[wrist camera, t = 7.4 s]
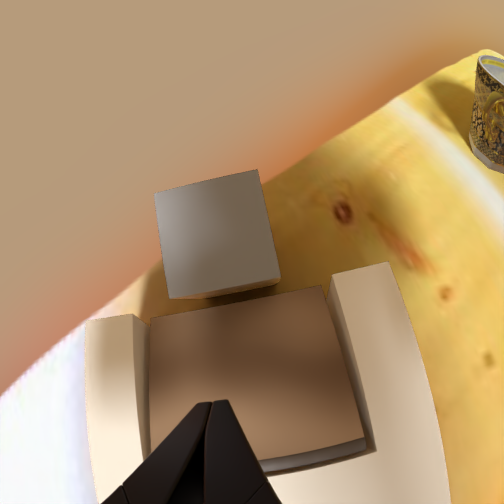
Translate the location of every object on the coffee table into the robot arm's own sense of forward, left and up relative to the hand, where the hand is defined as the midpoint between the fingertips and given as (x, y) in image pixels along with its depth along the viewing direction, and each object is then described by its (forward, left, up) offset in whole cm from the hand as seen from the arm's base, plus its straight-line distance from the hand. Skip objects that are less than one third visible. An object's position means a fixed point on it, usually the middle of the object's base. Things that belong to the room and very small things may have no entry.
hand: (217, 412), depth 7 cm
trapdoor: (+1, 0, -7) cm, 7 cm away
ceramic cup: (+17, -28, -11) cm, 35 cm away
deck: (-2, 0, -11) cm, 11 cm away
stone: (+9, 0, -6) cm, 11 cm away
